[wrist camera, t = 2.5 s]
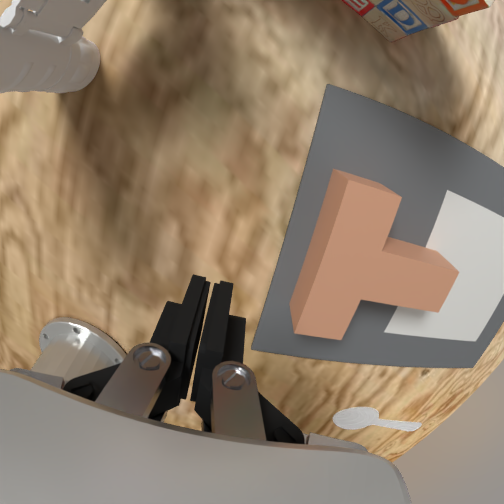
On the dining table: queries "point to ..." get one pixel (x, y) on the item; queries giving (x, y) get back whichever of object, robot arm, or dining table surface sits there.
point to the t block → (362, 261)
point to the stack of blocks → (412, 14)
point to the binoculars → (47, 46)
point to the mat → (399, 238)
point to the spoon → (369, 419)
